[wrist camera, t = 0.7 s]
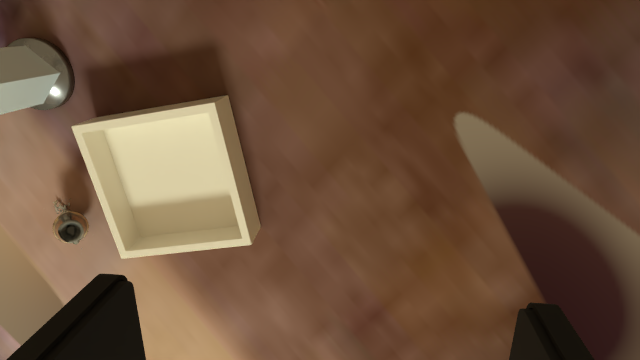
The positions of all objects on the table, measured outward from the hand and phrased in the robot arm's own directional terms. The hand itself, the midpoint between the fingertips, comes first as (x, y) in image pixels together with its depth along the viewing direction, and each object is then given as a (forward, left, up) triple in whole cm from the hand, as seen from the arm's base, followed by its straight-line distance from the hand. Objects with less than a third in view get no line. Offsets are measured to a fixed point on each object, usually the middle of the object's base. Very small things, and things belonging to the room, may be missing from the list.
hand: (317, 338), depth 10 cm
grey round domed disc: (-8, -31, -33) cm, 46 cm away
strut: (-8, -31, -32) cm, 46 cm away
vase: (+8, -32, -34) cm, 47 cm away
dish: (+5, -20, -33) cm, 39 cm away
